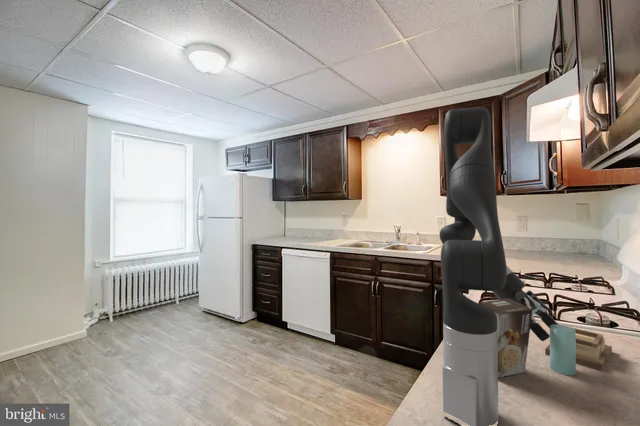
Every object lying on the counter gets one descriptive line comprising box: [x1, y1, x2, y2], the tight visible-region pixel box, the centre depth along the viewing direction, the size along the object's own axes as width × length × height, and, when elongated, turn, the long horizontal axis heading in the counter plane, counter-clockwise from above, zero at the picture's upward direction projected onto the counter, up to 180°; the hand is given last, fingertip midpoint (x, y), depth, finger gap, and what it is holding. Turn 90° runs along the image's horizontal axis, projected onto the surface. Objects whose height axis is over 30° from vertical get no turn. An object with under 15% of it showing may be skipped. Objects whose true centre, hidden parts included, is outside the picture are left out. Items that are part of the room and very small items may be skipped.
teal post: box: [549, 324, 577, 376], centre depth 73 cm, size 5×5×10 cm
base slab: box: [544, 327, 613, 371], centre depth 80 cm, size 14×11×5 cm
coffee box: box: [479, 298, 532, 378], centre depth 72 cm, size 9×6×16 cm
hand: (551, 334), depth 74 cm, fingers open, 8 cm apart
